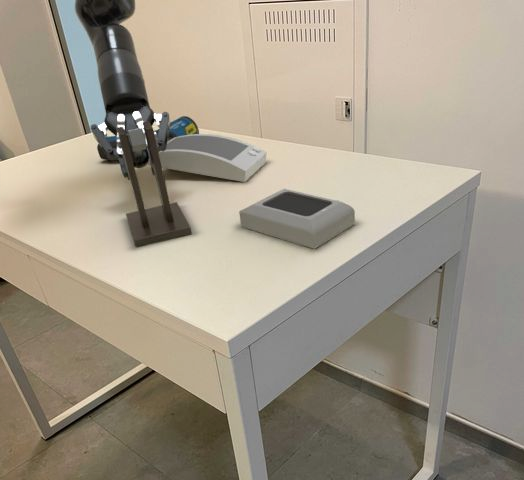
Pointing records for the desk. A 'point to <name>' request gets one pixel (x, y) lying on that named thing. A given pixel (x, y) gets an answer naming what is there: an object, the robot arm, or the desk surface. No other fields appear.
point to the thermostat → (212, 156)
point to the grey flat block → (298, 217)
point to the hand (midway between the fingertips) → (142, 174)
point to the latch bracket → (168, 214)
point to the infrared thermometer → (177, 129)
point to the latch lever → (138, 148)
